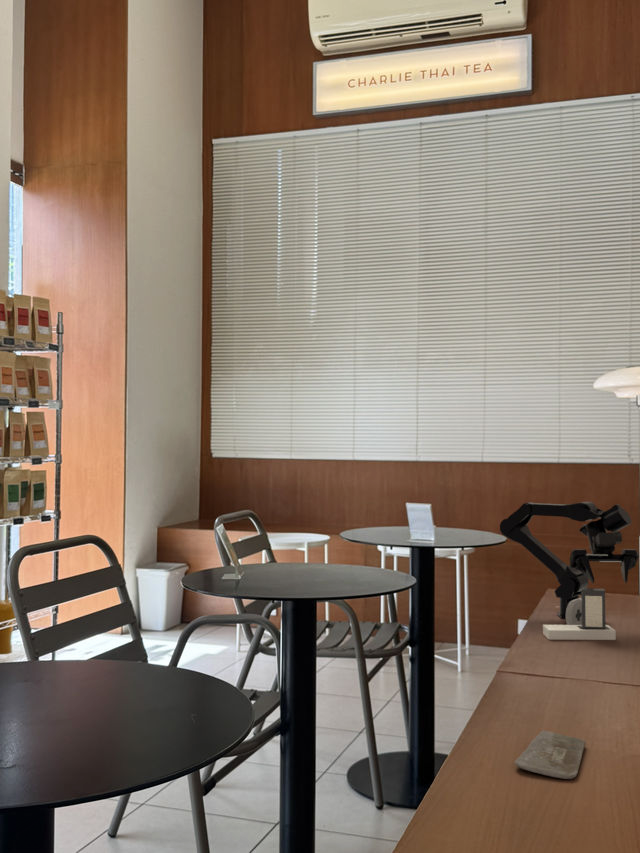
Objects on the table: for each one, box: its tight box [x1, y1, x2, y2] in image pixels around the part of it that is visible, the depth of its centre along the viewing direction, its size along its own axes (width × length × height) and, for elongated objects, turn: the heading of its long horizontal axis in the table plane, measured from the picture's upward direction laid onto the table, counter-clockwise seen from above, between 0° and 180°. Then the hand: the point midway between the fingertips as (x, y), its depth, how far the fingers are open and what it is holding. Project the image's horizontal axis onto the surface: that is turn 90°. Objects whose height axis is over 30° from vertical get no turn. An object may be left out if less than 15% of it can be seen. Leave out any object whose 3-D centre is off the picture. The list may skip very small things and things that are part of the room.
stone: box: [514, 730, 586, 780], centre depth 147 cm, size 18×3×10 cm
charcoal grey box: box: [580, 587, 606, 630], centre depth 236 cm, size 3×6×12 cm, turn 78°
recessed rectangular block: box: [542, 624, 617, 641], centre depth 236 cm, size 7×18×2 cm, turn 87°
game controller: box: [565, 597, 582, 625], centre depth 251 cm, size 20×2×8 cm, turn 137°
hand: (609, 582), depth 244 cm, fingers open, 9 cm apart
